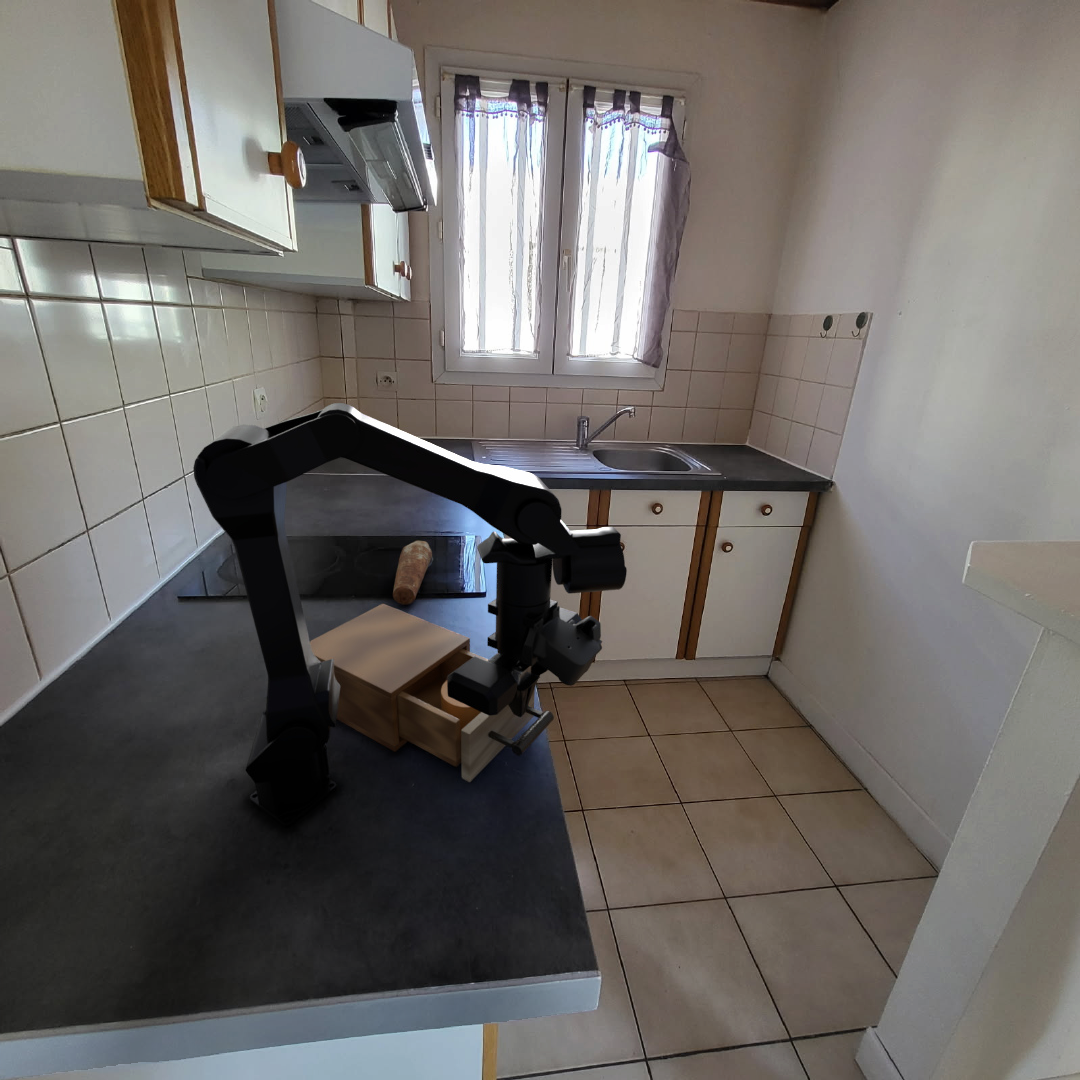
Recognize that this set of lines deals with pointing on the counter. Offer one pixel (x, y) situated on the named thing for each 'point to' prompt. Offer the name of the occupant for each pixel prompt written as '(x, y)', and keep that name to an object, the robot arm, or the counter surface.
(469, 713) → the tan round cylinder
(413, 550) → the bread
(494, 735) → the drawer
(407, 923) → the counter surface
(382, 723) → the cabinet
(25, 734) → the counter surface
